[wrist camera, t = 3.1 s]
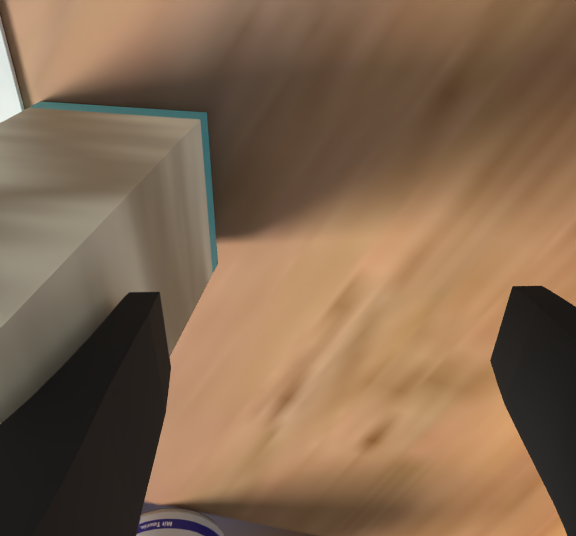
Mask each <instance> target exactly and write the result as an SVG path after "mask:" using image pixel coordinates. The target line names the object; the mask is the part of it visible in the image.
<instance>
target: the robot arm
mask: <svg viewBox="0 0 576 536" xmlns="http://www.w3.org/2000/svg"><path fill="white" fill-rule="evenodd" d="M490 361H491V364H492V367H493V371H494V374H495V377H496V380H497V383H498V386H499V389H500V392H501V395H502V398H503V401H504V403H505V406H506V408H507V410H508V412H509V414H510V416H511V418H512V420H513V422H514V425H515V427H516V429H517V431H518V433H519V435H520V437H521V439H522V441H523V443H524V445H525V447H526V449H527V451H528V453H529V455H530V457H531V459H532V461H533V463H534V465H535V467H536V469H537V471H538V473H539V475H540V477H541V479H542V481H543V483H544V485H545V487H546V489H547V491H548V493H549V495H550V497H551V499H552V501H553V503H554V505H555V507H556V510H557V512H558V514H559V516H560V519H561V521H562V523H563V525H564V528H565V530H566V533H567V536H576V307H575V306H573V305H572V304H570V303H569V302H567V301H566V300H564V299H563V298H561V297H560V296H558V295H556V294H555V293H553V292H551V291H550V290H548V289H546V288H545V287H543V286H513V287H512V290H511V293H510V297H509V300H508V303H507V307H506V310H505V313H504V317H503V320H502V323H501V327H500V330H499V334H498V337H497V340H496V344H495V347H494V350H493V354H492V357H491V360H490ZM170 371H171V365H170V358H169V351H168V344H167V338H166V331H165V324H164V317H163V310H162V303H161V296H160V292H129V293H128V294H127V295H126V296H125V297H124V298H123V299H122V300H121V301H120V302H119V303H118V305H117V306H116V307H115V308H114V309H113V310H112V312H111V313H110V314H109V315H108V316H107V317H106V319H105V320H104V321H103V322H102V323H101V324H100V326H99V327H98V328H97V329H96V330H95V331H94V332H93V334H92V335H91V336H90V337H89V338H88V339H87V340H86V341H85V342H84V343H83V345H82V346H81V347H80V348H79V349H78V350H77V351H76V352H75V353H74V354H73V355H72V356H71V358H70V359H69V360H68V361H67V362H66V363H65V364H64V365H63V366H62V367H61V368H60V369H59V370H58V371H57V372H56V373H55V374H54V375H53V376H52V377H51V378H50V379H49V380H48V381H47V382H46V383H45V384H44V385H43V386H42V387H41V388H40V389H39V390H38V391H37V392H36V393H34V394H33V395H32V396H31V397H30V398H29V399H28V400H27V401H26V402H25V403H24V404H23V405H22V406H20V407H19V408H18V409H17V410H16V411H15V412H14V413H13V414H11V415H10V416H9V417H8V418H7V419H6V420H5V421H3V422H2V423H1V424H0V536H136V535H137V530H138V525H139V520H140V515H141V511H142V507H143V503H144V499H145V495H146V491H147V487H148V483H149V479H150V475H151V471H152V467H153V463H154V459H155V455H156V450H157V446H158V442H159V438H160V434H161V430H162V426H163V421H164V417H165V413H166V405H167V397H168V389H169V380H170Z"/></svg>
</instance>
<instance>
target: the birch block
mask: <svg viewBox="0 0 576 536" xmlns="http://www.w3.org/2000/svg"><path fill="white" fill-rule="evenodd" d="M217 264H218V258H217V245H216V231H215V217H214V203H213V190H212V176H211V162H210V148H209V134H208V121H207V112H192V111H177V110H162V109H147V108H132V107H117V106H102V105H87V104H72V103H57V102H42V101H40V102H38V103H37V104H35V105H33V106H31V107H29V108H27V109H25V110H23V111H22V112H20V113H18V114H16V115H14V116H12V117H10V118H8V119H7V120H5V121H3V122H1V123H0V424H1V423H2V422H3V421H5V420H6V419H7V418H8V417H9V416H10V415H11V414H13V413H14V412H15V411H16V410H17V409H18V408H19V407H20V406H22V405H23V404H24V403H25V402H26V401H27V400H28V399H29V398H30V397H31V396H32V395H33V394H34V393H36V392H37V391H38V390H39V389H40V388H41V387H42V386H43V385H44V384H45V383H46V382H47V381H48V380H49V379H50V378H51V377H52V376H53V375H54V374H55V373H56V372H57V371H58V370H59V369H60V368H61V367H62V366H63V365H64V364H65V363H66V362H67V361H68V360H69V359H70V358H71V356H72V355H73V354H74V353H75V352H76V351H77V350H78V349H79V348H80V347H81V346H82V345H83V343H84V342H85V341H86V340H87V339H88V338H89V337H90V336H91V335H92V334H93V332H94V331H95V330H96V329H97V328H98V327H99V326H100V324H101V323H102V322H103V321H104V320H105V319H106V317H107V316H108V315H109V314H110V313H111V312H112V310H113V309H114V308H115V307H116V306H117V305H118V303H119V302H120V301H121V300H122V299H123V298H124V297H125V296H126V295H127V294H128V293H129V292H160V296H161V303H162V310H163V317H164V324H165V331H166V338H167V344H168V351H169V357H170V355H171V353H172V351H173V349H174V347H175V345H176V343H177V341H178V339H179V338H180V336H181V334H182V332H183V330H184V328H185V326H186V324H187V322H188V320H189V318H190V316H191V314H192V312H193V311H194V309H195V307H196V305H197V303H198V301H199V299H200V297H201V295H202V293H203V291H204V289H205V287H206V285H207V284H208V282H209V280H210V278H211V276H212V274H213V272H214V270H215V268H216V266H217Z"/></svg>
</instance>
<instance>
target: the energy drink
mask: <svg viewBox="0 0 576 536" xmlns="http://www.w3.org/2000/svg"><path fill="white" fill-rule="evenodd" d="M136 536H224V534H223V532H222V531H221V529H220V528H219V527H218V526H217V524H216V523H215V522H214V521H213V520H212V519H210V518H208V517H207V516H205V515H203V514H201V513H198V512H195V511H191V510H187V509H180V508H164V509H157V510H152V511H149V512H146V513H143V514H142V515H140V520H139V525H138V530H137V535H136Z"/></svg>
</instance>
